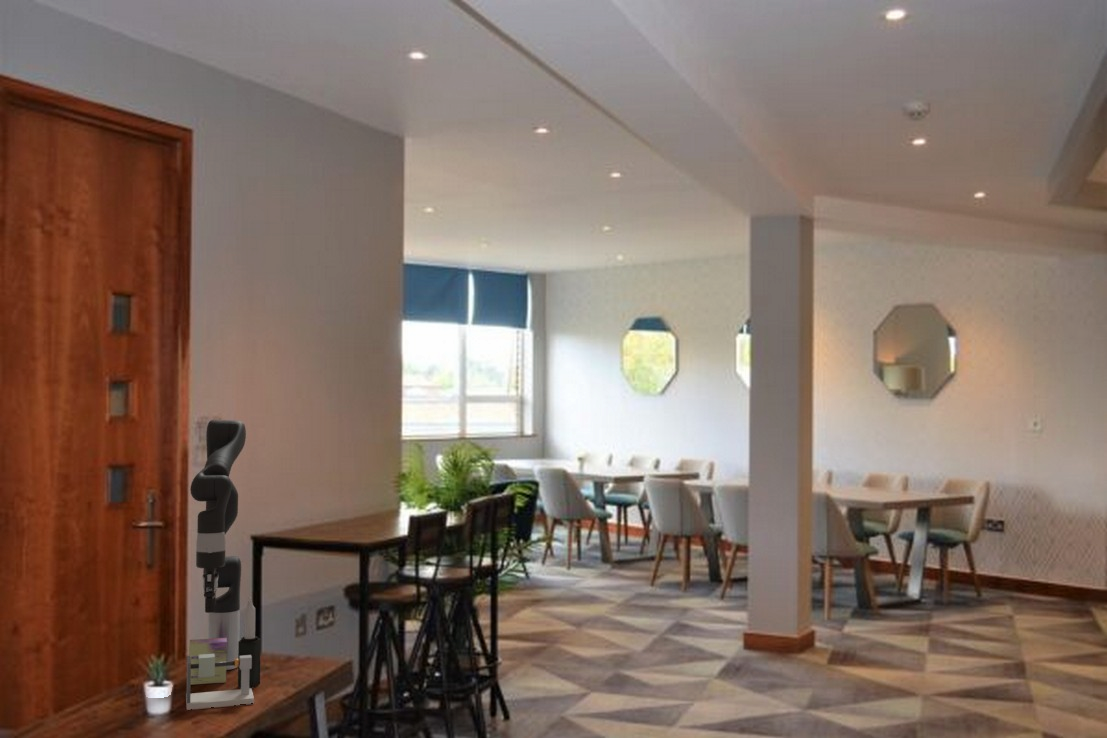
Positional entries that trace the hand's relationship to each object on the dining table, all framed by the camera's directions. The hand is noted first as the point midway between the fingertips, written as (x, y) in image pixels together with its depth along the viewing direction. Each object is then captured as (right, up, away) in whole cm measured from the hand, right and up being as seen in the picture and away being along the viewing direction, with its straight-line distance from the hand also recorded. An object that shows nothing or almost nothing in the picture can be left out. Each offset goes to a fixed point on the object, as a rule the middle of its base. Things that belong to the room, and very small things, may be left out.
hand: (210, 609), depth 283 cm
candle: (+6, -25, +15) cm, 30 cm away
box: (-7, -25, +18) cm, 32 cm away
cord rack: (+3, -24, -1) cm, 25 cm away
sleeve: (0, -17, -2) cm, 17 cm away
